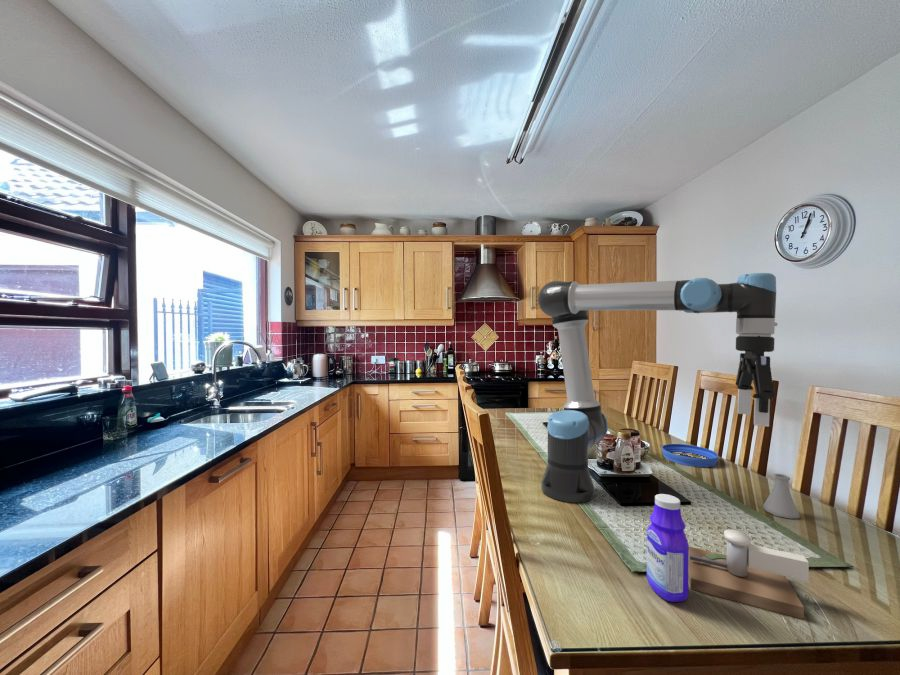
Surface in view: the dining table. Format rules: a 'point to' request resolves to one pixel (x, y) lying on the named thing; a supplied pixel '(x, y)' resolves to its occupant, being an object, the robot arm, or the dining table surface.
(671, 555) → the bottle
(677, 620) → the dining table surface
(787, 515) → the flask
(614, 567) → the dining table surface
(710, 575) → the board
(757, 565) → the peg
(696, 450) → the bowl
